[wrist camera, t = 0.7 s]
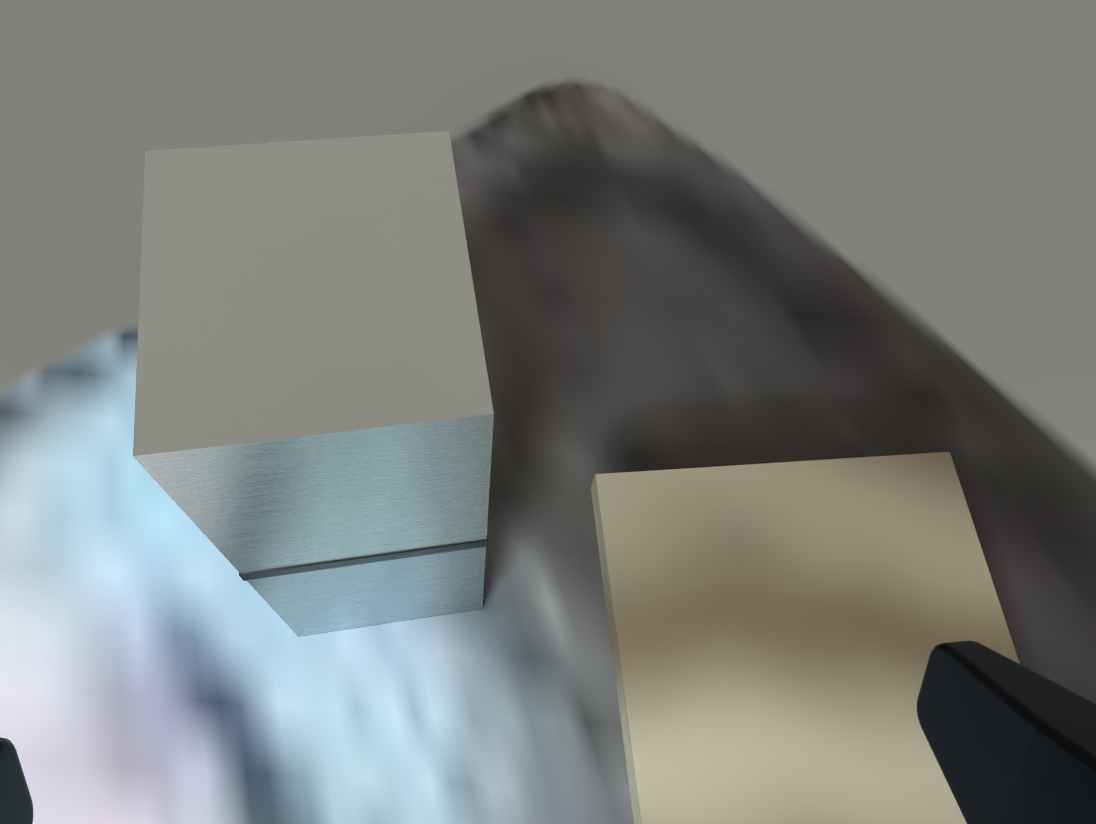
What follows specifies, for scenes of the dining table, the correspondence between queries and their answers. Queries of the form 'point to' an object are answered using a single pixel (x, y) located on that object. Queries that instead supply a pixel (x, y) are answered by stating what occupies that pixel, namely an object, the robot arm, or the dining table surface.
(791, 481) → the stand
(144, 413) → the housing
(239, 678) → the dining table surface
